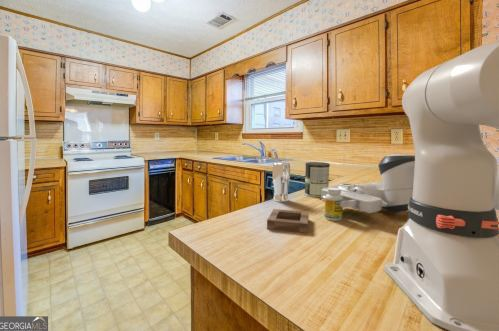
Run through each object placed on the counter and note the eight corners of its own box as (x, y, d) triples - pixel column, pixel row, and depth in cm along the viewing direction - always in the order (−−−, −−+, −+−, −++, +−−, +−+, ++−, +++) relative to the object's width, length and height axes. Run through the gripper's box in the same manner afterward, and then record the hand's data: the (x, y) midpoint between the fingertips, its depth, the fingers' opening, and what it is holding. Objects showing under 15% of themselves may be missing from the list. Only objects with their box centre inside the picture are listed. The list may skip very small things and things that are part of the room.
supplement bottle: (331, 214, 82) (332, 186, 81) (345, 219, 78) (347, 189, 77) (320, 217, 79) (321, 188, 78) (334, 222, 75) (336, 191, 74)
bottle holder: (307, 232, 67) (307, 223, 66) (266, 228, 69) (267, 220, 69) (308, 219, 77) (308, 211, 77) (273, 216, 80) (273, 209, 80)
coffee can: (299, 194, 111) (300, 163, 110) (313, 191, 118) (314, 161, 116) (319, 198, 103) (320, 165, 102) (333, 195, 110) (334, 163, 108)
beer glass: (268, 199, 102) (269, 162, 101) (282, 197, 105) (283, 162, 104) (278, 203, 96) (279, 164, 94) (292, 201, 99) (293, 163, 98)
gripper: (390, 214, 75) (359, 221, 69) (337, 199, 93) (309, 203, 87) (391, 194, 75) (361, 199, 68) (338, 182, 93) (310, 185, 86)
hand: (331, 201), depth 78 cm, fingers open, 5 cm apart
